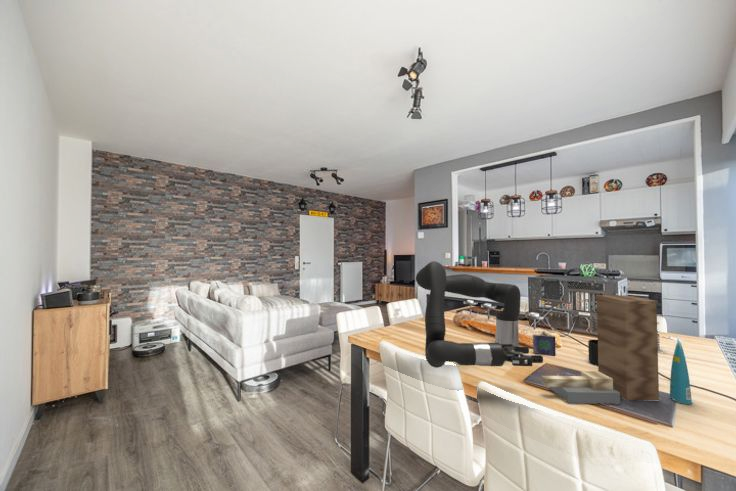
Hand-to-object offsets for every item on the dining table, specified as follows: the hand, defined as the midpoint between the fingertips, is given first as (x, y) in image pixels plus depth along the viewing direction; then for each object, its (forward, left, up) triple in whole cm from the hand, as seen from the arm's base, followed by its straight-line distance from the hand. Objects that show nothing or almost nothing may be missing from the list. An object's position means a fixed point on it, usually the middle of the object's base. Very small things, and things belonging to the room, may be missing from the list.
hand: (535, 354), depth 98 cm
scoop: (+13, +2, -10) cm, 16 cm away
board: (+15, +3, -13) cm, 20 cm away
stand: (+31, +9, -13) cm, 35 cm away
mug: (+39, +37, -14) cm, 55 cm away
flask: (+18, +45, -14) cm, 50 cm away
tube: (+44, +6, -14) cm, 47 cm away
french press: (+70, +61, -14) cm, 94 cm away
